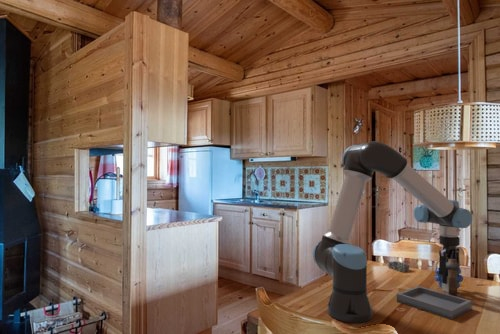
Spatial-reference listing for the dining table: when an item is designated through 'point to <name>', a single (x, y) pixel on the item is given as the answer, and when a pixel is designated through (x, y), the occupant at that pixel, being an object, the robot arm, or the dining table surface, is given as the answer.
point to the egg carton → (398, 266)
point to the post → (452, 277)
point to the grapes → (439, 277)
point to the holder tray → (435, 302)
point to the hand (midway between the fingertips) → (449, 289)
